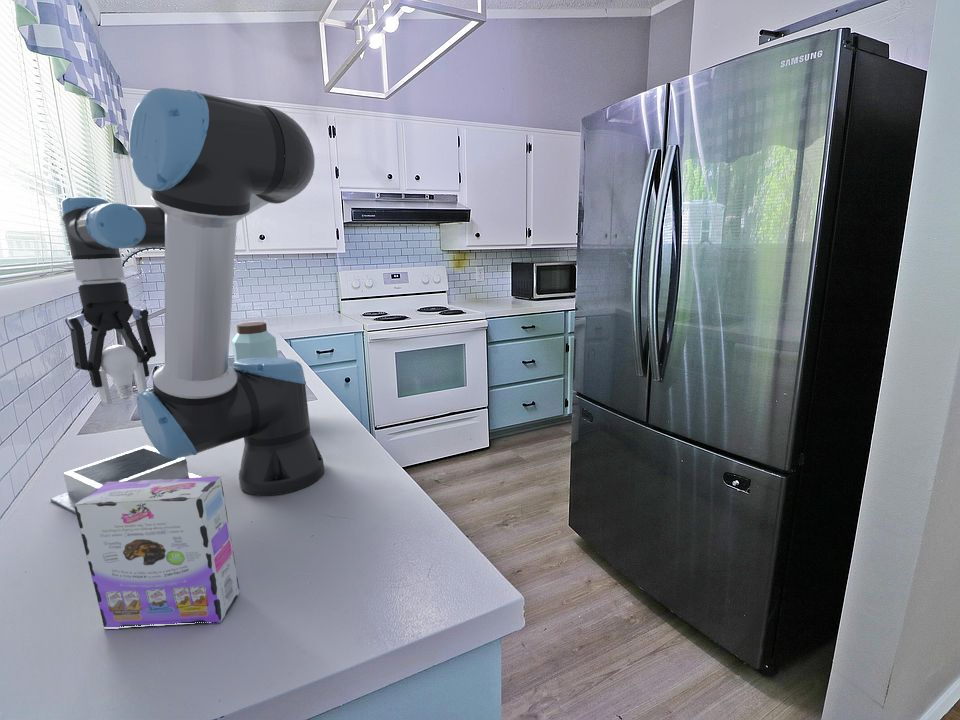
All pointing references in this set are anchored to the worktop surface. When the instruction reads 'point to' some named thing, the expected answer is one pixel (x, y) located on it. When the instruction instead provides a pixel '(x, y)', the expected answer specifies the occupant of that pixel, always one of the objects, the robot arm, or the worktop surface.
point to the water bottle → (254, 342)
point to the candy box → (159, 551)
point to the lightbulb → (120, 368)
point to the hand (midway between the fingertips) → (125, 397)
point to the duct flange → (120, 473)
